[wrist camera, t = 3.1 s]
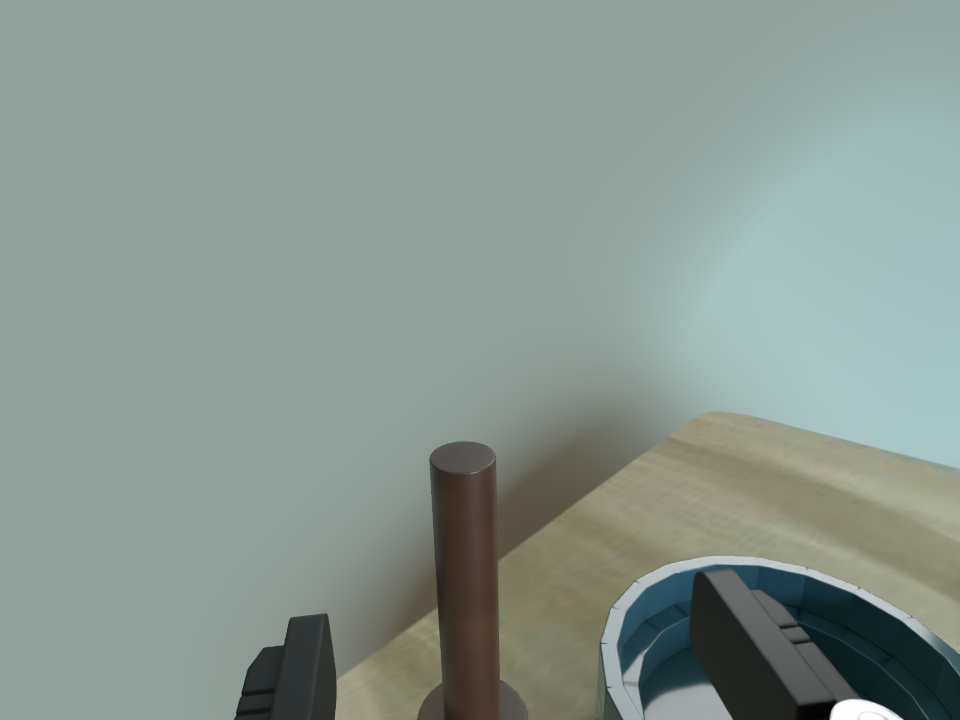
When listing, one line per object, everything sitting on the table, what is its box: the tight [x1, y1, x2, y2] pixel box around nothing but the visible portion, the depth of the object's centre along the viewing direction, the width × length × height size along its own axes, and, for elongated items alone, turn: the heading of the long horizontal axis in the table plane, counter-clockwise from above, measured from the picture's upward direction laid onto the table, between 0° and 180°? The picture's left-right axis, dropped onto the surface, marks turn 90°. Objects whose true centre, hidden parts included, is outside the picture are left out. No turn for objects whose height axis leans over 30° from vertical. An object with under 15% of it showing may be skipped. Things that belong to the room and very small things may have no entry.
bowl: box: [596, 556, 960, 720], centre depth 28 cm, size 16×16×5 cm
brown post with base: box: [417, 442, 528, 720], centre depth 27 cm, size 5×5×15 cm
